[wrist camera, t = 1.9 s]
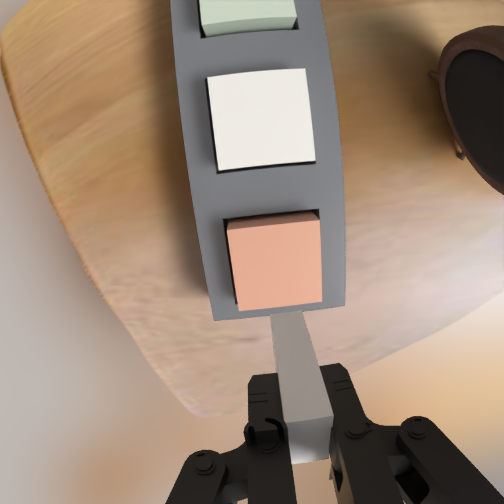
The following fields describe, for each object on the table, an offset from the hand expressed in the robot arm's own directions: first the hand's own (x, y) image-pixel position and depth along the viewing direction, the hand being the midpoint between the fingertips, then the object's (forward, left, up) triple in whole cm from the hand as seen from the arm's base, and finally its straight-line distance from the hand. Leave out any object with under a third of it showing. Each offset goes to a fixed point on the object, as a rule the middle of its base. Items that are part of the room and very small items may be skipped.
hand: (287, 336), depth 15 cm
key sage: (0, -21, -11) cm, 24 cm away
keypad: (0, -11, -14) cm, 17 cm away
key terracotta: (0, 0, -11) cm, 11 cm away
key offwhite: (0, -11, -11) cm, 15 cm away
